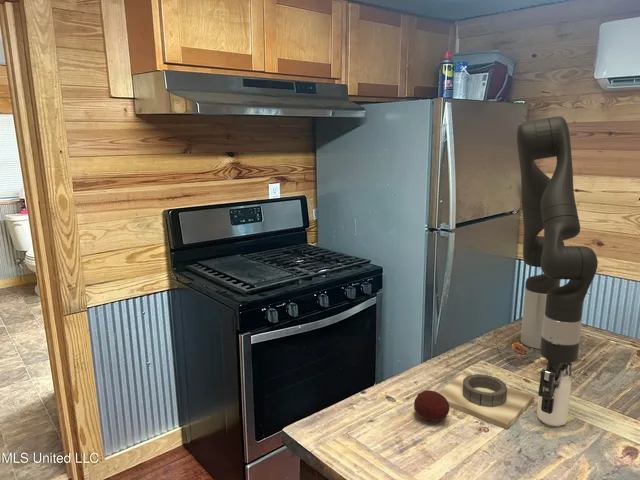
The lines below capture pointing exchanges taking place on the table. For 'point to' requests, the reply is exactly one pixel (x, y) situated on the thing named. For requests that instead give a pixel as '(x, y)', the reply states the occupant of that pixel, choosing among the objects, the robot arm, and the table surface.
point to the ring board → (488, 412)
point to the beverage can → (557, 404)
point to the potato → (431, 405)
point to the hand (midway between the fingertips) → (553, 403)
